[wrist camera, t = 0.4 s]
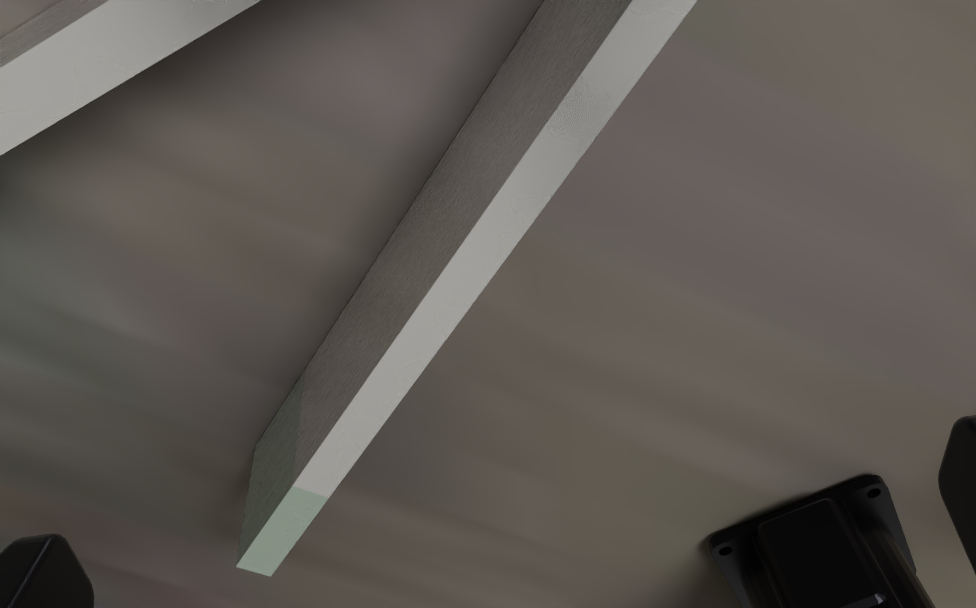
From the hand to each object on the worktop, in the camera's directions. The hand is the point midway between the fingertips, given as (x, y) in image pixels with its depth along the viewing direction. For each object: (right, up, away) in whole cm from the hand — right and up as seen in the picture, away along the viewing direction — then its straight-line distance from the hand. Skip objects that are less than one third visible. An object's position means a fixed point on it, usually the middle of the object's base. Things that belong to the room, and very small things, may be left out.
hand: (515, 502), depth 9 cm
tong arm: (-2, +5, +13) cm, 14 cm away
